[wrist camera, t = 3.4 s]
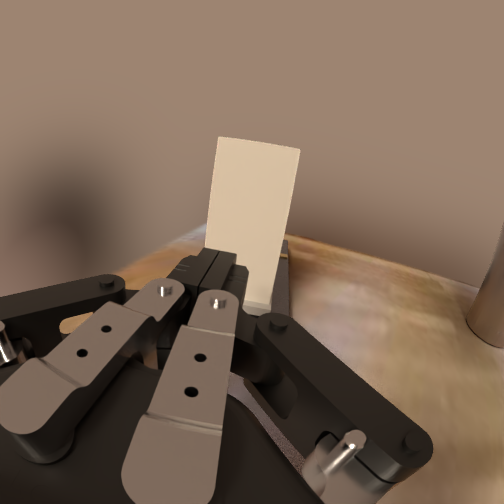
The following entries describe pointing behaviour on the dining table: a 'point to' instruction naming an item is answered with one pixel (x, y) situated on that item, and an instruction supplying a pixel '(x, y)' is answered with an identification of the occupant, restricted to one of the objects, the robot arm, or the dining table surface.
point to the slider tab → (252, 210)
